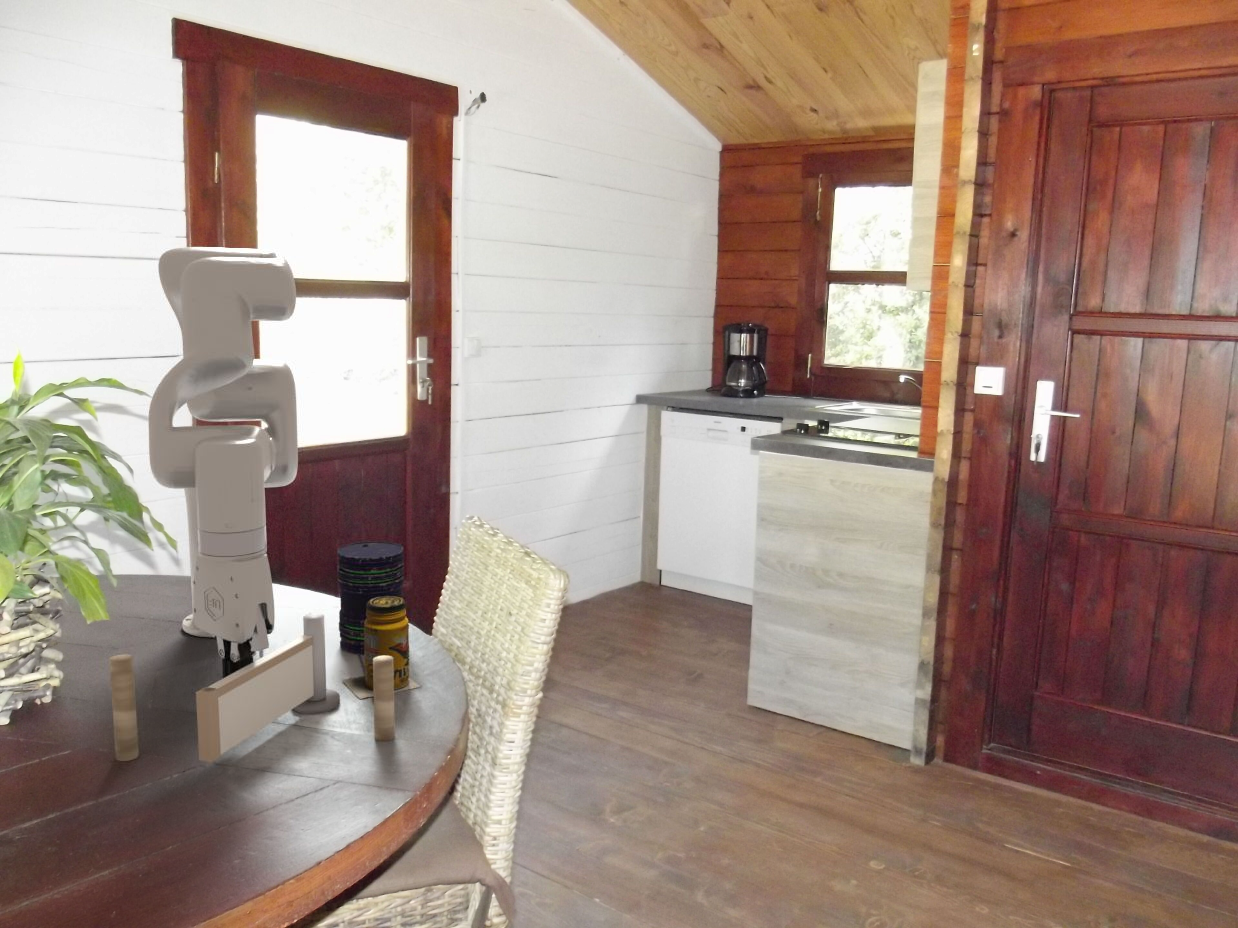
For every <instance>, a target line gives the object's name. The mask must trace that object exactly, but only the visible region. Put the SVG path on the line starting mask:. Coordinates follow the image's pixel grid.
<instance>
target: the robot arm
mask: <svg viewBox="0 0 1238 928" xmlns="http://www.w3.org/2000/svg"><path fill="white" fill-rule="evenodd" d="M157 269H158V276H159V281H160V284H161V287H162V290H163V293H164V295H165V297H166V299H167V301H168V303H169V305H170V307H171V309H172V311H173V313H174V315H175V317H176V319H177V321H178V325H179V327H180V328H179V329H180V332H181V339H182V340H181V341H182V354H183V355H182V356H183V357H182V359H180V361H178V362H177V363H176V364H175V365H174V366H173V367H172V368H171V369H170V370H169V371H168V372H167V373H166V374H165V375H164V376H163V378H162V379H161V381H160V382H159V384H158V385H157V387H156V389H155V391H154V392H153V395H152V398H151V401H150V404H149V410H148V450H149V451H148V453H149V457H148V458H149V466H150V469H151V473H152V475H153V478H154V479H155V481H156V482H157V483H158V484H159V485H161V486H162V487H164V488H168V489H174V490H175V489H179V490H181V489H182V490H184V497H185V502H186V514H187V516H186V517H187V532H188V545H189V564H190V565H189V566H190V567H189V568H190V570H189V571H190V584H191V585H190V589H191V605H192V606H191V608H192V613H190V614H189V615H187V616H186V617H185V618H184V619H183V620H182V630H183V631H184V632H185V633H187V634H189V635H191V636H196V637H201V638H214V639H215V640H216V644H217V649H218V650H217V651H218V655H219V656H220V658H221V667H222V679H223V678H225V677H227V676H229V675H231V674H232V673H234V672H236V671H238V670H240V669H242V668H244V667H245V666H247V665H249V664H251V663H253V662H254V656H256V655H257V652H260V651H263V650H264V651H265V650H266V649H269V647H270V643H269V637H268V635H271V634H272V633H273V631H274V627H275V617H276V616H275V598H274V589H273V581H272V580H273V579H272V574H271V569H270V562H269V559H268V554H267V549H268V548H267V547H268V546H267V544H268V543H267V524H266V523H267V521H266V520H267V519H266V494H265V493H266V492H265V488H278V487H285V486H288V485H290V484H291V483H293V482H294V480H295V479H296V477H297V473H298V468H299V467H298V466H299V451H298V450H299V445H298V417H297V416H298V415H297V414H298V413H297V392H296V384H295V378H294V375H293V372H292V370H291V368H290V366H289V365H288V364H286V363H285V362H284V361H281V360H279V359H273V358H255V348H254V339H253V337H254V336H253V327H252V321H260V322H261V321H263V322H264V321H266V322H267V321H269V322H279V321H280V322H281V321H286V320H287V321H288V320H289V319H291V317H292V316H293V314H294V312H295V308H296V304H297V303H296V301H297V288H296V287H297V286H296V281H295V276H294V274H293V271H292V268H291V266H290V263H288V261H287V260H286V258H285V256H284V255H283V254H282V252H280V251H277V250H274V249H257V248H230V247H212V246H211V247H210V246H209V247H207V246H204V247H203V246H189V247H188V246H187V247H186V246H185V247H177V248H173V249H169V250H166V251H165V252H164V253H162V254H161V256H160V257H159V260H158V268H157ZM184 405H186V406H187V408H188V411H189V413H190V415H192V417H193V418H195V419H197V420H199V421H204V422H205V421H206V422H245V421H246V422H250V421H251V422H252V421H253V422H254V421H261V422H264V423H265V424H266V425H267V427H261V426H259V425H254V424H253V425H250V424H238V425H236V424H235V425H233V424H231V425H221V424H218V425H216V424H215V425H191V426H190V425H188V426H187V425H184V426H173V424H174V423H173V421H174V417H175V415H176V414H177V412H178V410H180V409H181V408H182V407H183V406H184Z"/></svg>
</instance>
